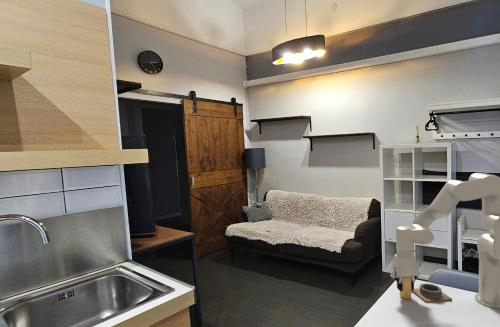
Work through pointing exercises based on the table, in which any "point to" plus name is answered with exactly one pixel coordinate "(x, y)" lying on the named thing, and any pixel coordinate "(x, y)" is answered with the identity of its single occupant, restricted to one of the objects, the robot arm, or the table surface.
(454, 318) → the table surface
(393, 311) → the table surface
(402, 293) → the pale yellow cylinder
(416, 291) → the mount plate
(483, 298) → the robot arm
